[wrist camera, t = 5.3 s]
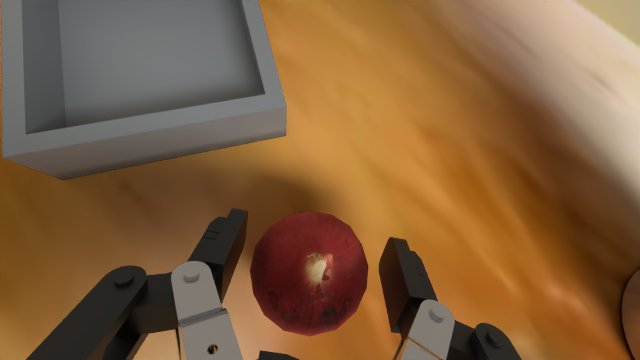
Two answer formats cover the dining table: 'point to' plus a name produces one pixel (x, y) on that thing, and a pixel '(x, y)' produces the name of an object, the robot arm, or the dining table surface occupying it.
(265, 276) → the onion
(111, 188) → the dining table surface
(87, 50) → the bin
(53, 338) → the robot arm
